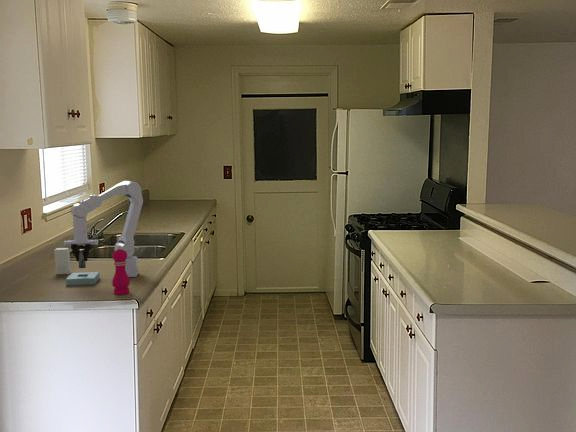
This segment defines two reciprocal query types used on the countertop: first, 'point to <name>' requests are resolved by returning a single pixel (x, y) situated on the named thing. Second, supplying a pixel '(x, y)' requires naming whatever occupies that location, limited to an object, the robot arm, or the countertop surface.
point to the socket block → (82, 279)
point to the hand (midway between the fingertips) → (82, 261)
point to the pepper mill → (120, 272)
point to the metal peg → (81, 258)
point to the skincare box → (62, 261)
